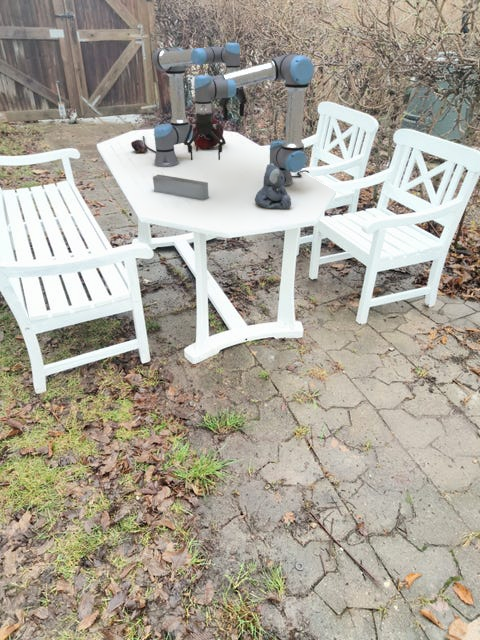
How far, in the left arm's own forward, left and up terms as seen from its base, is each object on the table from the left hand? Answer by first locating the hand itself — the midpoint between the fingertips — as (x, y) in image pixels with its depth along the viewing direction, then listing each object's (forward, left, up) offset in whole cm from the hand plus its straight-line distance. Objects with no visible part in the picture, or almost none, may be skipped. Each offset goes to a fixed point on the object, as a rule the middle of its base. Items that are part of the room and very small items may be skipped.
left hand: (233, 118), depth 257 cm
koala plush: (+51, -26, -32) cm, 65 cm away
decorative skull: (-60, +35, -32) cm, 76 cm away
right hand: (+23, -45, -10) cm, 52 cm away
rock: (-86, -7, -32) cm, 92 cm away
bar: (+3, -47, -32) cm, 56 cm away
